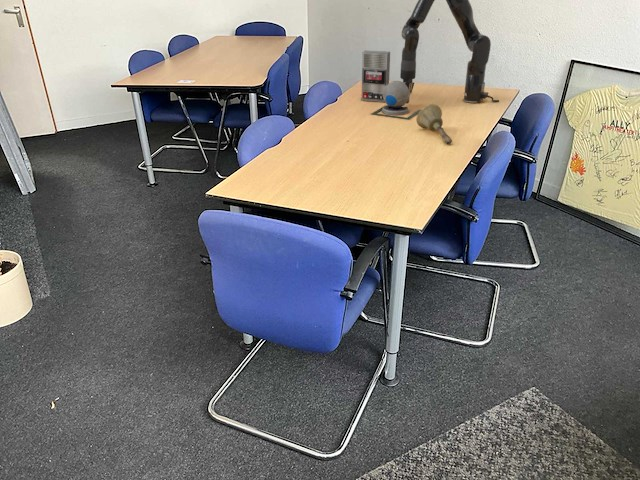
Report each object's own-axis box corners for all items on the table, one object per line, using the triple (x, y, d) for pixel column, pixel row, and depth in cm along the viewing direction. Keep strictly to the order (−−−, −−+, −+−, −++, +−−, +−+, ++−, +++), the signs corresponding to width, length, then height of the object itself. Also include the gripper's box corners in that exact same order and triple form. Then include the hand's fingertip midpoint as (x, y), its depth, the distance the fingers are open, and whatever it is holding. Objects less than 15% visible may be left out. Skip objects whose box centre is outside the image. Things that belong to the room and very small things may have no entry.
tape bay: (422, 110, 269) (422, 110, 269) (408, 119, 256) (408, 118, 256) (385, 105, 278) (385, 105, 278) (371, 114, 265) (371, 113, 265)
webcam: (412, 109, 270) (414, 79, 262) (401, 116, 261) (403, 85, 253) (389, 106, 276) (390, 77, 269) (377, 113, 267) (378, 82, 259)
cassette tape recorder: (360, 100, 288) (361, 52, 276) (364, 97, 293) (365, 50, 281) (385, 102, 283) (387, 53, 271) (388, 99, 288) (390, 51, 276)
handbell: (428, 131, 246) (450, 159, 227) (410, 119, 240) (431, 146, 221) (445, 111, 241) (469, 137, 223) (428, 98, 235) (451, 123, 216)
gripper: (409, 72, 260) (407, 107, 269) (420, 66, 270) (418, 100, 279) (395, 70, 264) (394, 105, 273) (406, 65, 274) (404, 99, 282)
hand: (406, 103), depth 276 cm, fingers closed
